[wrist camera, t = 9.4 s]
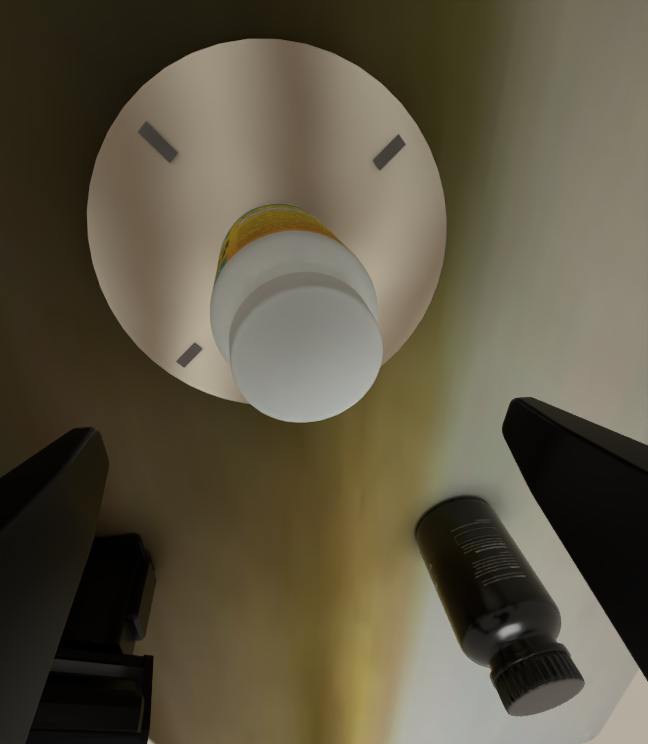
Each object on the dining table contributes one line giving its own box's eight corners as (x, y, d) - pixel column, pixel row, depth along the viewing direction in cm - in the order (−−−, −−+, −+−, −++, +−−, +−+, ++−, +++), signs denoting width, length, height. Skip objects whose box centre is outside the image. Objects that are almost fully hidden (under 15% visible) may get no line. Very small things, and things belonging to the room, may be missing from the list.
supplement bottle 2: (397, 543, 33) (465, 726, 23) (445, 486, 30) (546, 665, 20) (460, 556, 35) (546, 726, 25) (509, 504, 33) (627, 671, 23)
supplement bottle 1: (339, 308, 20) (407, 427, 12) (232, 324, 19) (227, 460, 11) (331, 192, 17) (413, 244, 9) (206, 207, 17) (173, 276, 9)
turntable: (134, 405, 22) (130, 415, 21) (41, 22, 14) (29, 16, 13) (412, 389, 24) (418, 397, 24) (472, 60, 16) (484, 56, 16)
